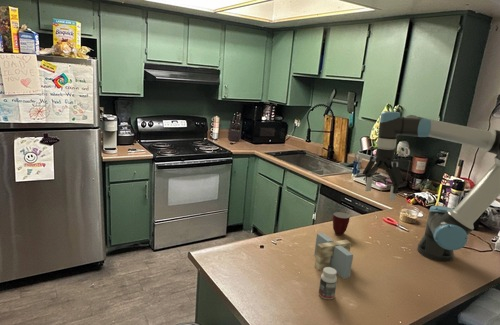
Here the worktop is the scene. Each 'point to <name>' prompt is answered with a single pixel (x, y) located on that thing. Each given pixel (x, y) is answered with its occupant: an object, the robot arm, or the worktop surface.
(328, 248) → the beige flat block
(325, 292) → the pill bottle
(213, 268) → the worktop surface
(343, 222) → the mug
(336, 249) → the slate notched block
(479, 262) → the worktop surface
